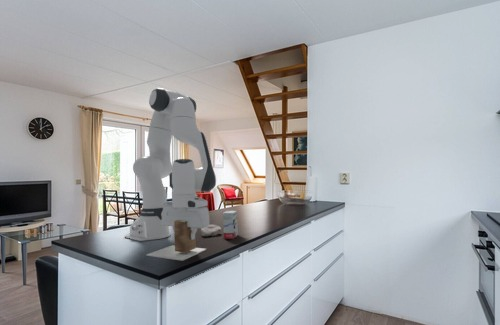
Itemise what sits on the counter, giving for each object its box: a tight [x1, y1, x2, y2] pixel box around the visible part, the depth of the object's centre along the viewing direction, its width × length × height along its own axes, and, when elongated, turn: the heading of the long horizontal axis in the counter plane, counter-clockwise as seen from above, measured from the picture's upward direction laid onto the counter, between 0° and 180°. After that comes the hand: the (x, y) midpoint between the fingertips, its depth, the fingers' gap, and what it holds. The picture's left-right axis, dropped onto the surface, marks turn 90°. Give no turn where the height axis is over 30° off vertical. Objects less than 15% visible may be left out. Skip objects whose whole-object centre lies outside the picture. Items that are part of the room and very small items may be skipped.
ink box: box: [222, 210, 239, 240], centre depth 127 cm, size 9×5×12 cm, turn 168°
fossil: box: [200, 224, 222, 237], centre depth 133 cm, size 9×6×10 cm
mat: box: [146, 244, 207, 262], centre depth 104 cm, size 17×14×1 cm
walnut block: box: [173, 220, 197, 253], centre depth 103 cm, size 5×6×11 cm
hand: (185, 238), depth 103 cm, fingers closed on walnut block, 5 cm apart
